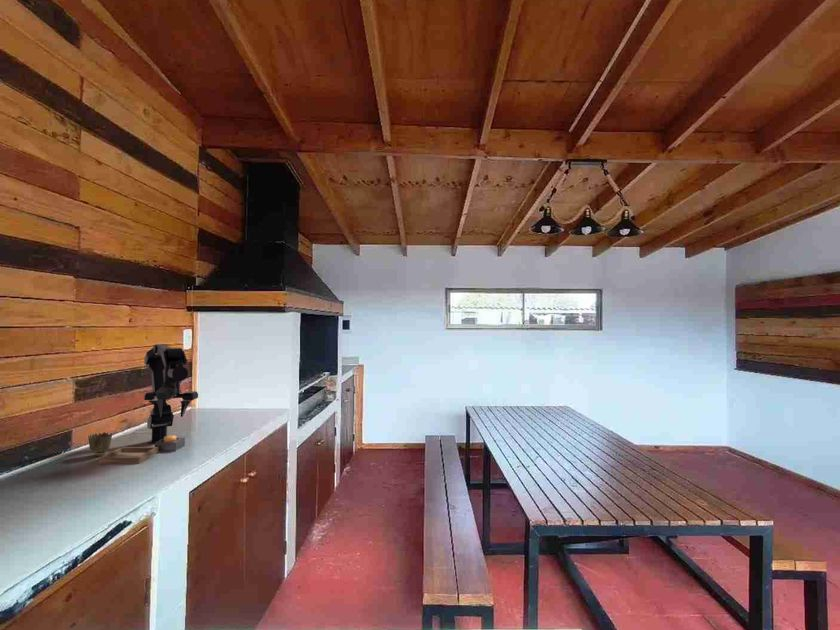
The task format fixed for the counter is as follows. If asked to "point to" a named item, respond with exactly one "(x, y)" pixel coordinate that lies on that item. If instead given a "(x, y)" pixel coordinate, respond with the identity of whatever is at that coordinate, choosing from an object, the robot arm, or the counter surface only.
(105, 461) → the wooden tray
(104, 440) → the ornate lamp shade
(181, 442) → the panel
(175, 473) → the counter surface
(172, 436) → the button
